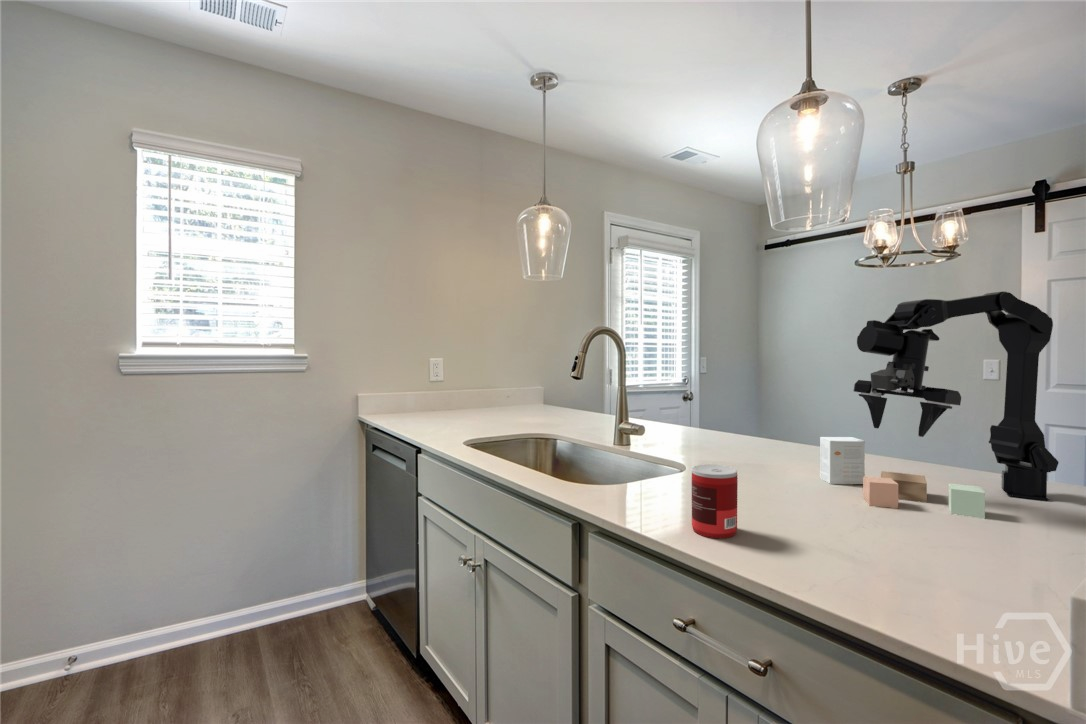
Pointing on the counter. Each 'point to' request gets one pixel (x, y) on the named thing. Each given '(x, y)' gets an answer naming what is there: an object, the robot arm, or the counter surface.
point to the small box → (842, 460)
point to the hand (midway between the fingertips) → (897, 432)
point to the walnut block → (909, 485)
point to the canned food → (714, 501)
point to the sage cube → (967, 500)
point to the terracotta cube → (880, 492)
